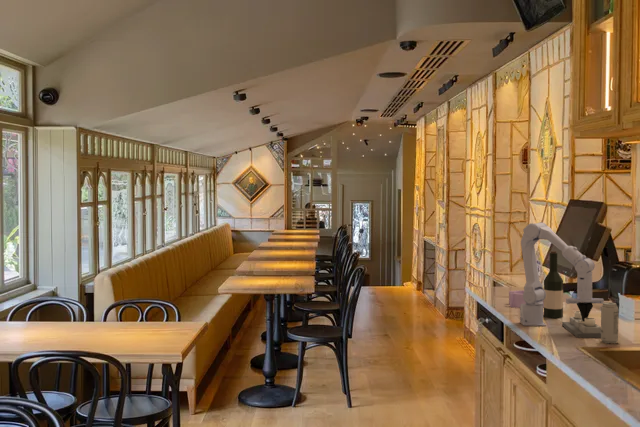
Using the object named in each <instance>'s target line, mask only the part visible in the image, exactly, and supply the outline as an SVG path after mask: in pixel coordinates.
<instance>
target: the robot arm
mask: <svg viewBox="0 0 640 427" xmlns="http://www.w3.org/2000/svg"><path fill="white" fill-rule="evenodd" d="M520 240H521V241H520V246H521V254H522V260H523V268H524V275H525V284H524V287H523V290H524V293H523V299H524V301H525V302H526V304H521V305H520V308H519V317H520V318H519V323H521V325H522V326H536V327H537V326H538V327H539V326H540V327H541V326H542V327H543V326H546V325H547V324H546V323H545V322H544V308H543V300H544V299H545V297H546V292H545V290H544V284H542V282H541V281H540V277H539V270H538V269H539V268H538V263H537V262H538V261H537V255H536V248H535V244H537V242H539V240H547V241H548V242H550V243H551V244H552V245H554V246H555V247H556V248H557V249H558V250H559V251H561V254H562V257H563V258H565V260H566V261H567V262H569V263H570V264H572V266H573V267H574V269H575V272H576V273H577V275H576V276H577V279H576V280H577V284H576V285H577V287H576V288H577V289H576V290H577V291H576V292H577V293H576V294H577V295H576V296H577V297H572V298H571V297H570V298H569V297H568V298H565V303H566V304H568V305H570V304H576V305H577V308H578V309H579V310H578V311H580V313H581V316H582V321H585V318H589V315H590V313H591V310H592V309H593V308H594V307H593V306H594V305H593V304H601V305H603V303H604V302H605V300H604V298H599V297H598V298H597V297H593V271H594V270H595V267H596V266H595V262H594V260H592V258H590V257H587V256H586V255H585V254H583V253H581V252H580V251H579V250H578V247H576V246H573V245H568V244H567V243H566V242H565V241H564V240H563V239H562V238H561V237H560V236H558V235H557V234H556V233H555V232H554V231H553V230H552V228H551V227H550V226H548V224H546V223H545V222H536V223H533V222H532V223H529V224H526V226H525V227H524V228H523V234H522V237H521V239H520Z"/></svg>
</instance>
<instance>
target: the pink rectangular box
mask: <svg viewBox="0 0 640 427" xmlns="http://www.w3.org/2000/svg"><path fill="white" fill-rule="evenodd" d="M523 293H524V289H523V290H508V305H509V308H518V309H520V305H521V304H526V302H525V301H524V299H523ZM543 309H544V300H543Z"/></svg>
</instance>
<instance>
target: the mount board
mask: <svg viewBox="0 0 640 427" xmlns="http://www.w3.org/2000/svg"><path fill="white" fill-rule="evenodd" d="M574 317H575V316H569V321H562V322H561V325H562V327H563V326H564V327H563V328H564V329H565V330H567V331H568V332H569V333H571V334H572V335H574V336H575V337H576V338H578V339H579V338H582V339H583V338H585V339H587V338H588V339H589V338H591V339H592V338H595V339H601V325H598V324H597V323H595V326H586V325H585V323H580V322H579V321H580V320H582V319H577V318H574Z"/></svg>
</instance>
